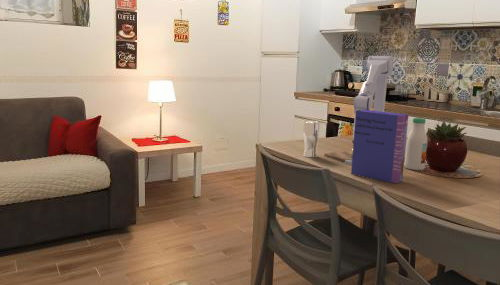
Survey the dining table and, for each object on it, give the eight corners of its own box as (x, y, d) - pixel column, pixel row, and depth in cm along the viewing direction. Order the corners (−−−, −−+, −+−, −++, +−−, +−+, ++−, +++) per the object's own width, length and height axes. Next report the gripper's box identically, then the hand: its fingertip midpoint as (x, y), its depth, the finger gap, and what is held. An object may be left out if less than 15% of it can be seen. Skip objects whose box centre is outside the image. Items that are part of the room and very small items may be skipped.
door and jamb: (356, 152, 203) (356, 143, 202) (399, 165, 180) (400, 155, 180) (324, 155, 194) (324, 146, 194) (365, 170, 172) (366, 159, 171)
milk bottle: (414, 171, 172) (420, 120, 168) (399, 166, 179) (404, 117, 175) (428, 169, 176) (434, 119, 172) (413, 165, 183) (418, 116, 179)
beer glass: (317, 158, 189) (320, 123, 187) (301, 157, 191) (303, 122, 188) (318, 154, 196) (320, 121, 193) (302, 153, 197) (304, 120, 195)
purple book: (401, 181, 158) (408, 114, 153) (396, 183, 154) (403, 115, 150) (357, 172, 169) (362, 109, 164) (351, 174, 165) (356, 109, 161)
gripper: (375, 128, 172) (372, 162, 174) (367, 123, 186) (364, 154, 189) (357, 127, 172) (354, 162, 174) (350, 122, 186) (347, 154, 189)
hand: (358, 158), depth 182 cm, fingers closed
